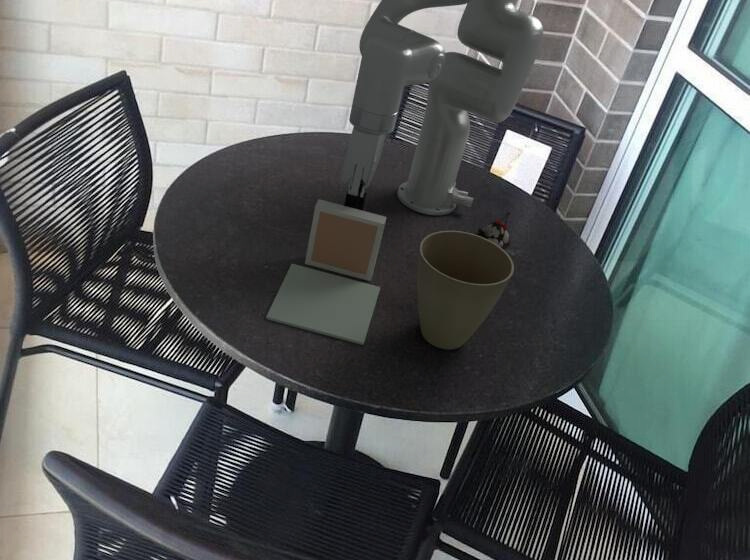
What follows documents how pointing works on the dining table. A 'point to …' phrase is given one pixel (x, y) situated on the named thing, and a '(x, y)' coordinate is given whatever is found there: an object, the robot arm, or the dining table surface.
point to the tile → (344, 239)
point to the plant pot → (458, 285)
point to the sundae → (496, 233)
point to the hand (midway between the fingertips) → (352, 212)
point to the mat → (325, 304)
